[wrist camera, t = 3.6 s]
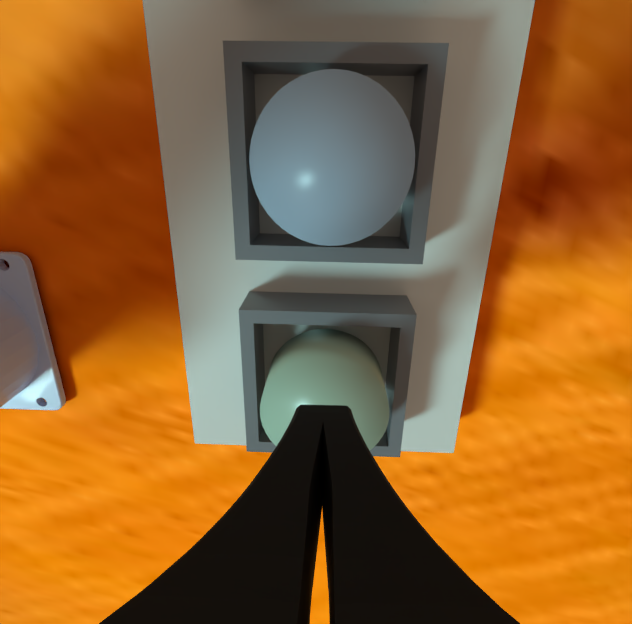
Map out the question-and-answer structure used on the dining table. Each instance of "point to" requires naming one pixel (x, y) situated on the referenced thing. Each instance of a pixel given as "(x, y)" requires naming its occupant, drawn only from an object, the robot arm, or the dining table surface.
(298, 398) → the sage button
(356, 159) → the dusty blue button
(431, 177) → the button console
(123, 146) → the dining table surface
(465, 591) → the robot arm
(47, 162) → the dining table surface
